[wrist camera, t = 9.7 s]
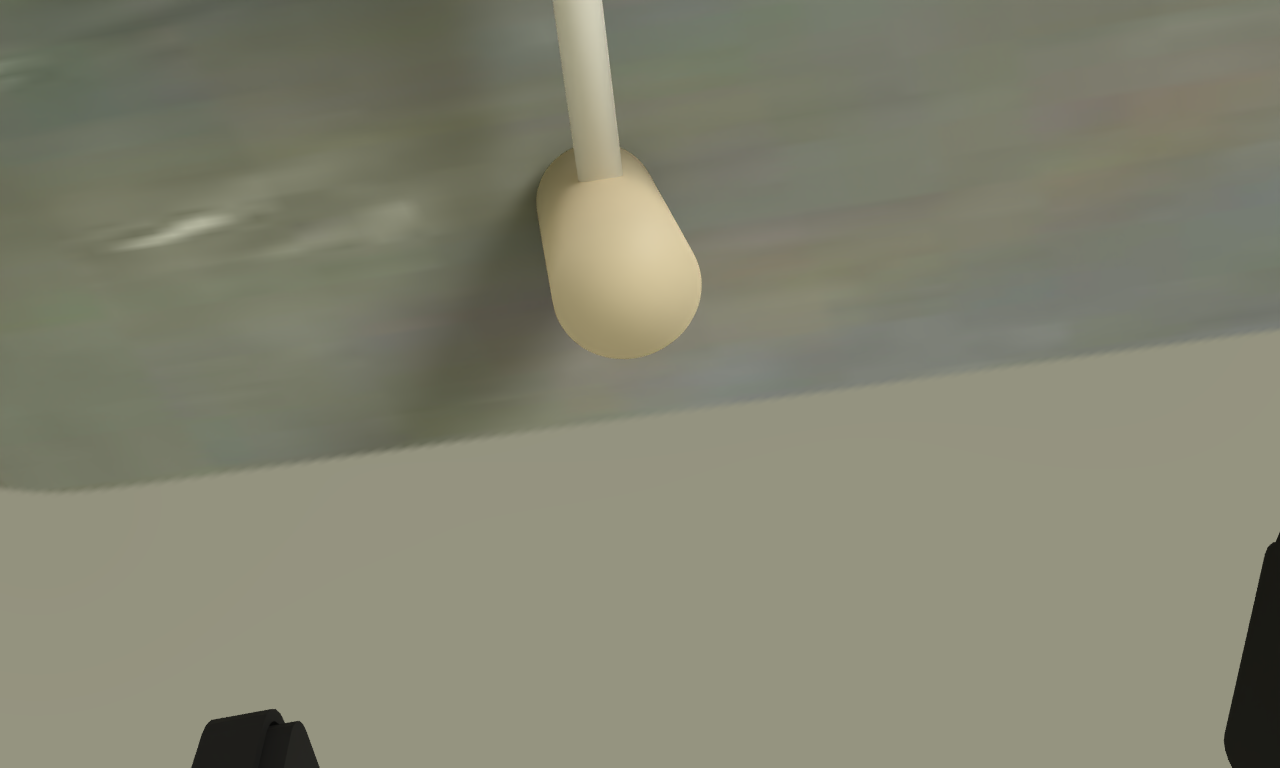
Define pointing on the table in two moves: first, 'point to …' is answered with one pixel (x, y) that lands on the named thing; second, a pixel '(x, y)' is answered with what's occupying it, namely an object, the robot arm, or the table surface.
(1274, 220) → the table surface
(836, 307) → the table surface
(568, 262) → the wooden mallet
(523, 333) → the table surface
